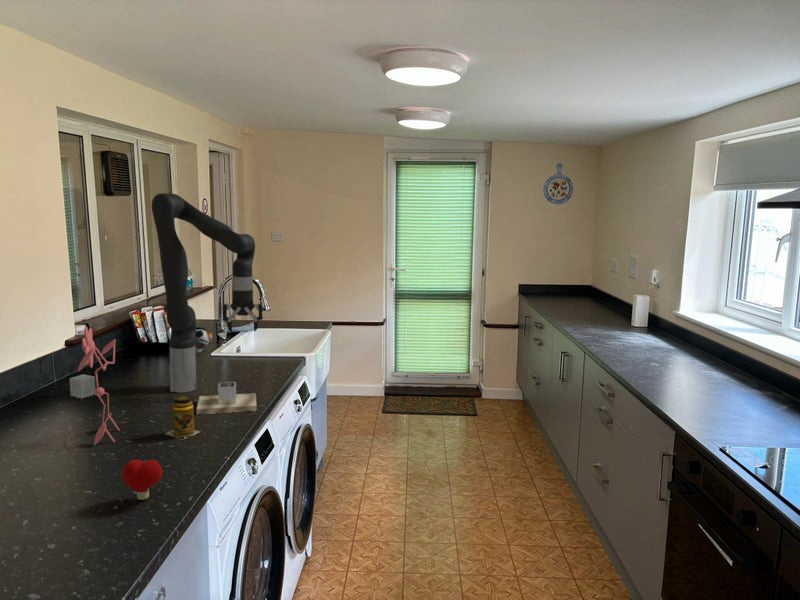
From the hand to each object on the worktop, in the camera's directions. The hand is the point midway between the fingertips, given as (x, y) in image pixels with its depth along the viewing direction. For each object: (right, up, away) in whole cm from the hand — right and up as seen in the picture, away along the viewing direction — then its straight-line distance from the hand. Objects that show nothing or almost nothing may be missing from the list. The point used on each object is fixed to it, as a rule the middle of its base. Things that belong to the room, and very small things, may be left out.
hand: (242, 331), depth 215 cm
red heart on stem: (-4, -37, -75) cm, 84 cm away
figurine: (-35, -31, -39) cm, 61 cm away
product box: (-59, -24, -1) cm, 64 cm away
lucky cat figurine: (-42, -14, +68) cm, 81 cm away
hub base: (-3, -27, -8) cm, 28 cm away
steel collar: (-3, -25, -8) cm, 26 cm away
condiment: (-10, -31, -33) cm, 46 cm away
